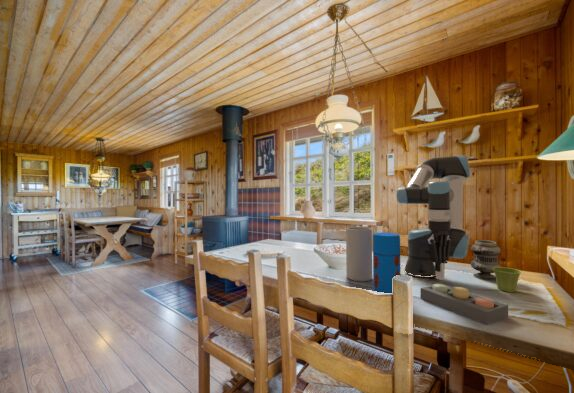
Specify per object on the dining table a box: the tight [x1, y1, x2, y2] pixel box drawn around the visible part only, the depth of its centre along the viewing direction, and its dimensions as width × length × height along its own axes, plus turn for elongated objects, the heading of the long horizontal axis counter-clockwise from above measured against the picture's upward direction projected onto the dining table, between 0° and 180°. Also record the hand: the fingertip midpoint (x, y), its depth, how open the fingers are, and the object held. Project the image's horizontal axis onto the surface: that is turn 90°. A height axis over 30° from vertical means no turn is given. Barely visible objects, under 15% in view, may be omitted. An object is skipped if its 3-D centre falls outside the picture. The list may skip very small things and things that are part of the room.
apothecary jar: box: [470, 239, 502, 281], centre depth 129 cm, size 12×12×18 cm
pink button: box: [475, 297, 494, 309], centre depth 88 cm, size 5×5×4 cm
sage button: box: [432, 283, 448, 293], centre depth 103 cm, size 5×5×4 cm
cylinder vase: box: [345, 226, 373, 282], centre depth 130 cm, size 12×12×25 cm
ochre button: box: [452, 286, 470, 300], centre depth 95 cm, size 5×5×4 cm
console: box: [420, 283, 509, 326], centre depth 95 cm, size 24×12×4 cm, turn 24°
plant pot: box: [493, 266, 522, 293], centre depth 112 cm, size 9×9×9 cm
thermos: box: [372, 232, 401, 293], centre depth 110 cm, size 11×11×25 cm
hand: (440, 278), depth 103 cm, fingers closed
